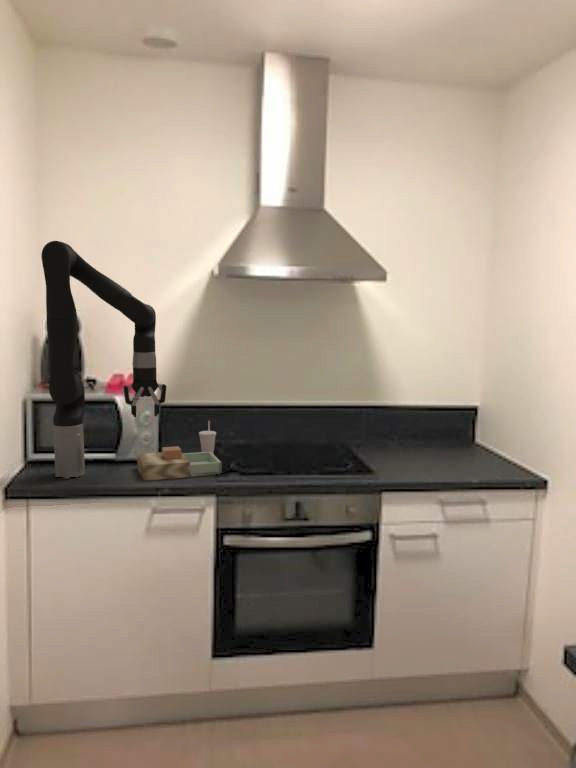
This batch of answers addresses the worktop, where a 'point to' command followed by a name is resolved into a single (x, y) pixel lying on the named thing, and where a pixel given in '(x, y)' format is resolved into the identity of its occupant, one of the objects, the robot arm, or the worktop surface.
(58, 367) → the robot arm
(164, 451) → the orange brown lump
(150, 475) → the chevron patterned box
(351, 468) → the worktop surface
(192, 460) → the box
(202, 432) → the smoothie
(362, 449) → the worktop surface
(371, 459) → the worktop surface
